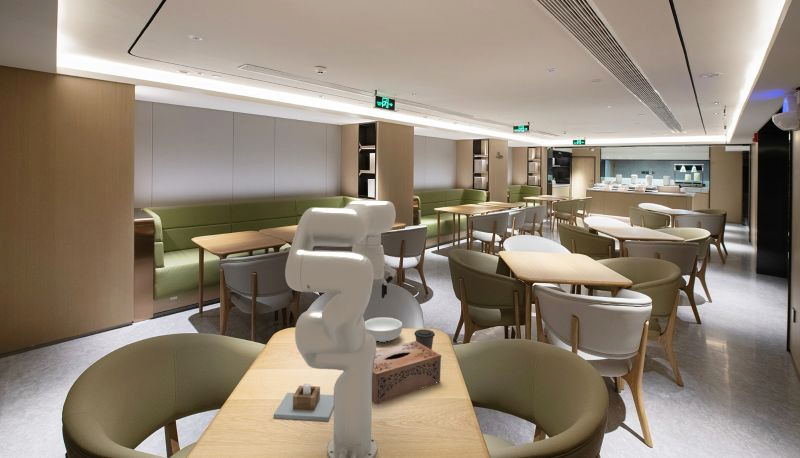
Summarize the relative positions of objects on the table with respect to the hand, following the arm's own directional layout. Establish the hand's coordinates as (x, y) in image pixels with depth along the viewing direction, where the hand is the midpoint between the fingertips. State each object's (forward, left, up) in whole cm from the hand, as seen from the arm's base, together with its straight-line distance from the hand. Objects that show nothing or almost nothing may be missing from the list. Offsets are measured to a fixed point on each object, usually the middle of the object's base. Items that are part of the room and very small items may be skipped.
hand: (367, 296), depth 127 cm
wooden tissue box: (-7, +17, -32) cm, 37 cm away
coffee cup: (+34, -18, -34) cm, 51 cm away
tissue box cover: (+11, -9, -34) cm, 37 cm away
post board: (-7, +17, -33) cm, 38 cm away
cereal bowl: (+49, 0, -34) cm, 59 cm away
